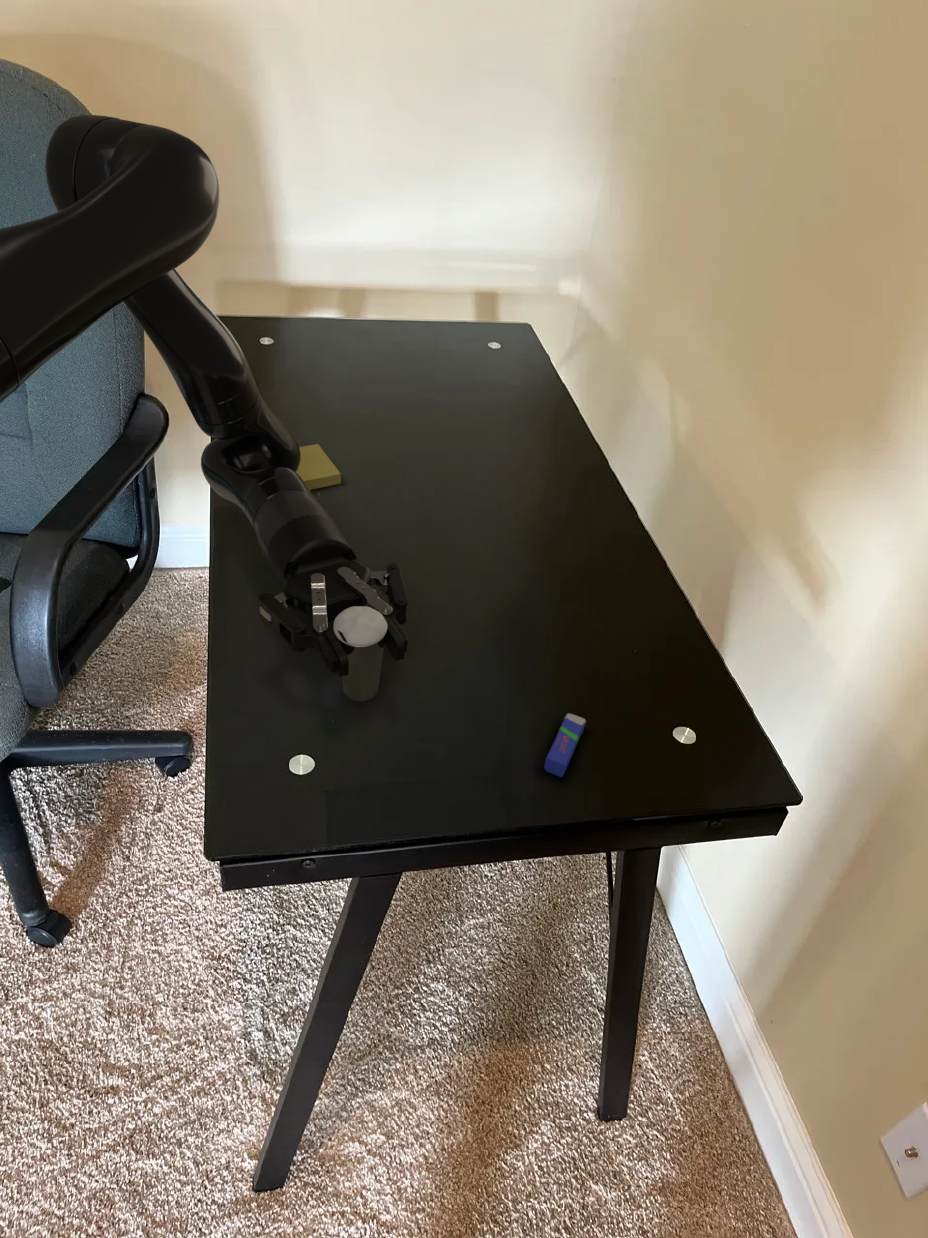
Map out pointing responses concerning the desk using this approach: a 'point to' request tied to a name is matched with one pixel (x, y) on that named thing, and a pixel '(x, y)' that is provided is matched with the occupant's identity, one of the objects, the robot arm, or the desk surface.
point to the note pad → (317, 468)
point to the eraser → (564, 744)
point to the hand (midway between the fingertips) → (373, 660)
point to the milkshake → (361, 650)
